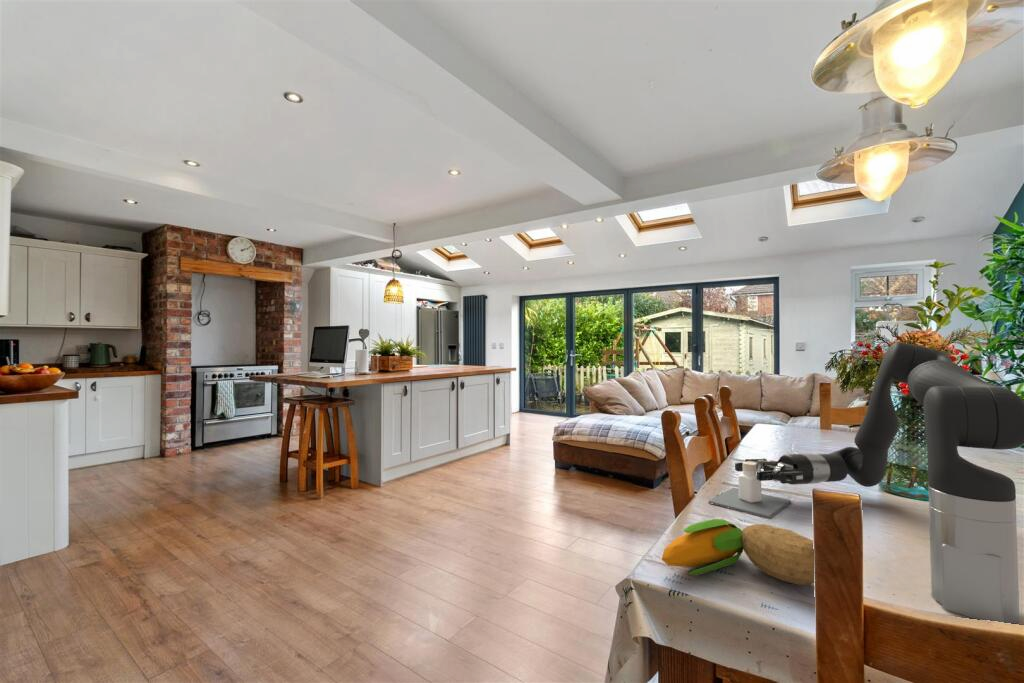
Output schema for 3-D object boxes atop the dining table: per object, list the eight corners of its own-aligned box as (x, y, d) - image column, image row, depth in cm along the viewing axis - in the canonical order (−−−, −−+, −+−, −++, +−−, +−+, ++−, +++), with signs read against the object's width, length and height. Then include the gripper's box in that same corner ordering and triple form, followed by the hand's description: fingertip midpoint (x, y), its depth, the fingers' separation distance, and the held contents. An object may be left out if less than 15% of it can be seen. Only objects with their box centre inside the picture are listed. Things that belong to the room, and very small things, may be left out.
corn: (756, 519, 81) (680, 542, 72) (759, 562, 81) (684, 590, 71) (720, 509, 88) (647, 529, 78) (723, 549, 87) (649, 573, 78)
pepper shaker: (762, 501, 111) (762, 464, 111) (751, 503, 110) (750, 465, 110) (749, 497, 115) (748, 460, 115) (737, 498, 114) (737, 461, 114)
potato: (761, 554, 84) (761, 512, 84) (843, 590, 71) (842, 541, 71) (726, 565, 80) (725, 521, 80) (807, 606, 67) (806, 553, 67)
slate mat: (769, 518, 102) (769, 515, 102) (708, 503, 112) (708, 500, 112) (790, 502, 112) (790, 499, 113) (733, 489, 123) (733, 487, 123)
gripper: (783, 448, 122) (728, 450, 120) (826, 461, 108) (765, 463, 105) (783, 475, 121) (729, 478, 119) (826, 491, 107) (766, 495, 105)
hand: (746, 471), depth 112 cm, fingers open, 8 cm apart
